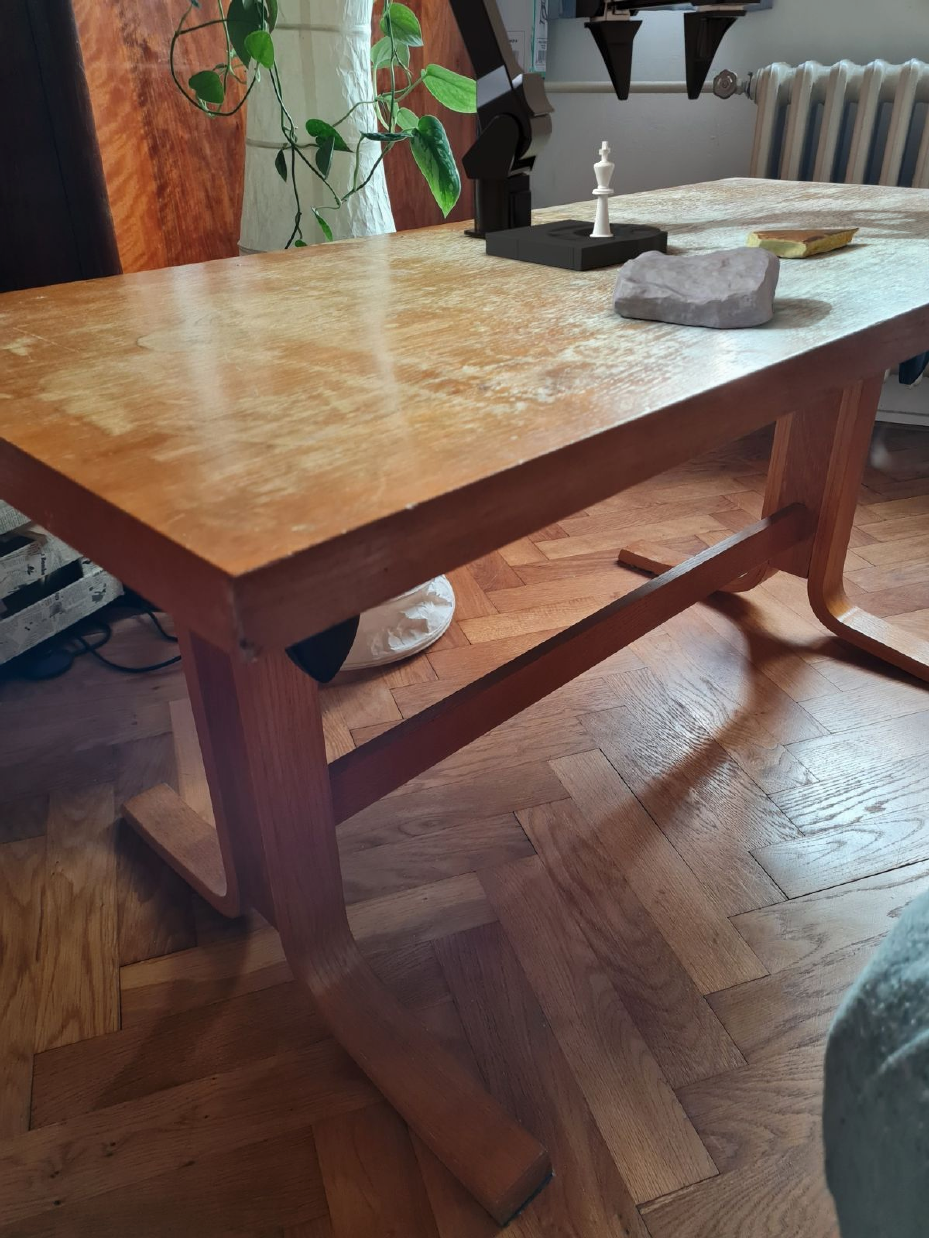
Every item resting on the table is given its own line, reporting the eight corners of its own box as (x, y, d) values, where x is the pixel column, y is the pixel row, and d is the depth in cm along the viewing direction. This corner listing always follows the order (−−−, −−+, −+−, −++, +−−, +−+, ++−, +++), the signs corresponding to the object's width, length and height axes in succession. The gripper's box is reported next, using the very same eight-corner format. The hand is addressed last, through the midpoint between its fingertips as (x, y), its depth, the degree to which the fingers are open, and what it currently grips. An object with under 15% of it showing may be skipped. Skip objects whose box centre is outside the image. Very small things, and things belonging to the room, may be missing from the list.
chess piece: (568, 255, 90) (570, 143, 84) (588, 247, 93) (592, 139, 88) (613, 258, 87) (619, 143, 82) (632, 250, 91) (639, 139, 86)
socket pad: (485, 254, 92) (485, 233, 91) (580, 236, 99) (580, 217, 98) (586, 272, 82) (587, 249, 81) (683, 251, 89) (685, 230, 88)
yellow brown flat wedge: (855, 244, 89) (859, 224, 88) (877, 258, 82) (881, 237, 81) (744, 246, 90) (747, 227, 89) (757, 260, 84) (760, 240, 83)
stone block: (767, 355, 63) (778, 295, 70) (774, 288, 60) (784, 232, 66) (602, 352, 67) (627, 296, 74) (600, 289, 64) (626, 236, 70)
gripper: (811, -109, 79) (785, 95, 87) (651, -79, 91) (641, 97, 100) (731, -118, 73) (711, 101, 81) (573, -84, 86) (569, 102, 94)
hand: (656, 100), depth 89 cm, fingers open, 9 cm apart
